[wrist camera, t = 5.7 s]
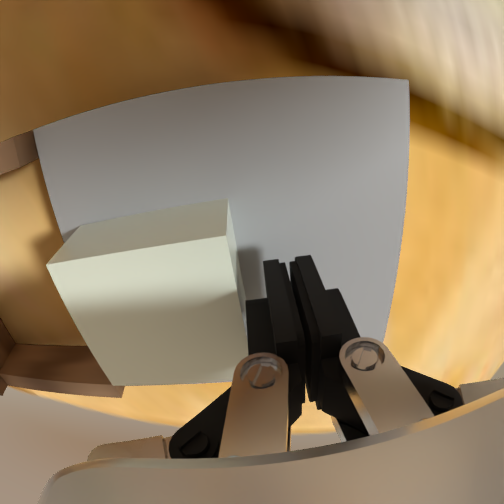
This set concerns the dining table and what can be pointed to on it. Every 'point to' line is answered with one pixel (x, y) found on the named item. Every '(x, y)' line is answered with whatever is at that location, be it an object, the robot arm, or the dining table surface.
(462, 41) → the dining table surface
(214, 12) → the dining table surface
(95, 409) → the dining table surface
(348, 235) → the plate
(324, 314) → the robot arm
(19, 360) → the box
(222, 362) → the off-white flat block
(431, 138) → the dining table surface
